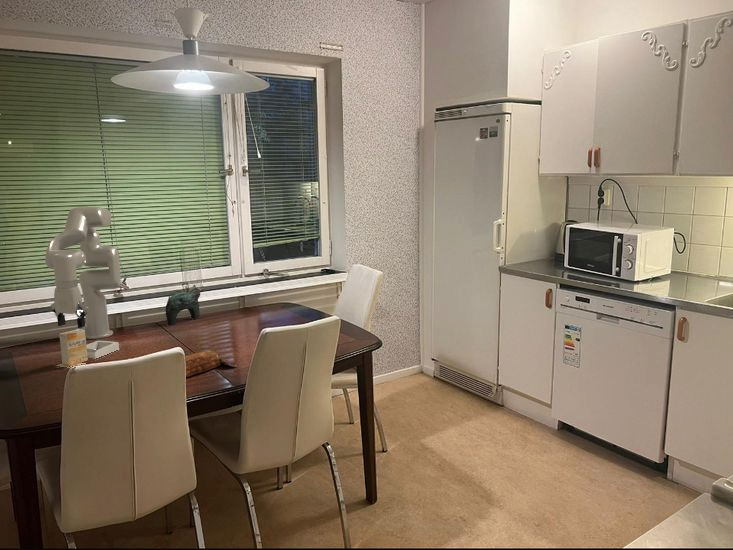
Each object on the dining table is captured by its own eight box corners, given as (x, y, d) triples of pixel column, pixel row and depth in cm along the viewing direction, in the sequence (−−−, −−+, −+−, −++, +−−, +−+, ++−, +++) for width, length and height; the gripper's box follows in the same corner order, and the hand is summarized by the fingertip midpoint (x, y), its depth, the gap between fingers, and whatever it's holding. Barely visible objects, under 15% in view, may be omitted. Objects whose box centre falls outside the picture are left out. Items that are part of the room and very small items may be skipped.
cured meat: (243, 366, 221) (241, 349, 220) (187, 384, 202) (185, 366, 201) (216, 358, 233) (214, 342, 231) (161, 374, 214) (159, 357, 213)
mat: (55, 367, 222) (55, 365, 222) (75, 359, 231) (74, 357, 231) (75, 369, 219) (75, 368, 219) (94, 361, 228) (94, 360, 228)
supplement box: (69, 366, 220) (66, 334, 218) (62, 364, 223) (58, 333, 220) (88, 360, 227) (85, 329, 225) (81, 358, 230) (77, 328, 227)
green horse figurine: (197, 316, 299) (194, 279, 295) (204, 318, 295) (202, 281, 291) (164, 324, 283) (161, 286, 279) (172, 326, 279) (169, 287, 275)
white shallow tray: (74, 358, 232) (73, 347, 232) (98, 348, 245) (97, 338, 245) (95, 360, 229) (94, 349, 229) (119, 350, 242) (118, 340, 242)
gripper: (41, 285, 218) (46, 327, 222) (77, 287, 213) (82, 330, 217) (56, 281, 225) (61, 321, 229) (92, 283, 220) (96, 325, 224)
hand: (71, 326), depth 223 cm, fingers open, 9 cm apart
